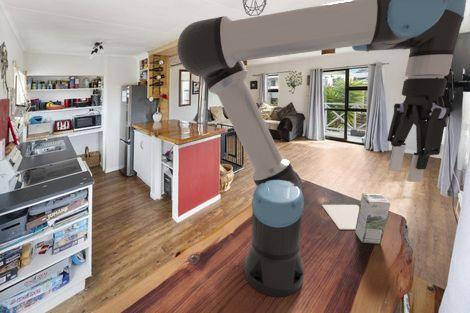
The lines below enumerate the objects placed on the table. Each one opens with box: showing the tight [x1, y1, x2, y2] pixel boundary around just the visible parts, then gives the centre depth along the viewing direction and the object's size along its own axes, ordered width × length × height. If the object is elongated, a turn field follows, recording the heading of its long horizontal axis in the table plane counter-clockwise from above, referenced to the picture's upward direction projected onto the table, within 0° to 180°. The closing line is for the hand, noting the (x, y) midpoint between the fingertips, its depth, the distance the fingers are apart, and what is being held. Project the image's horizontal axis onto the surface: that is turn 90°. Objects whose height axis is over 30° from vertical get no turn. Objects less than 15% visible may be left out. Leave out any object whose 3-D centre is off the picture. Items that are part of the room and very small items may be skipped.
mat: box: [321, 204, 360, 231], centre depth 86 cm, size 14×16×1 cm
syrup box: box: [354, 193, 391, 245], centre depth 72 cm, size 6×6×14 cm
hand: (403, 175), depth 58 cm, fingers open, 6 cm apart
